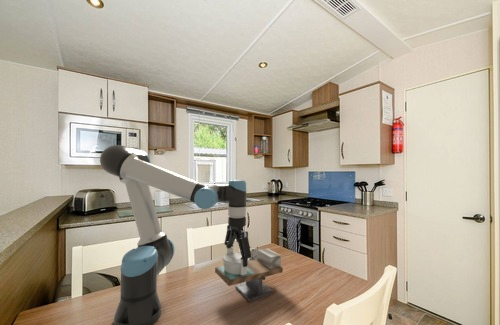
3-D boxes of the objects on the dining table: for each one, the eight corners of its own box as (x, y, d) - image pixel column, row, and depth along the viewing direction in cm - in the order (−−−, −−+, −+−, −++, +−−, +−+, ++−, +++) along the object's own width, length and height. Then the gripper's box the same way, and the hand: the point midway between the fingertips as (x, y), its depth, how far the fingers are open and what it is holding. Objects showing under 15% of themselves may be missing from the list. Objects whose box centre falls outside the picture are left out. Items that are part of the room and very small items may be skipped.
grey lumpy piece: (255, 265, 127) (264, 250, 130) (254, 266, 120) (264, 250, 122) (243, 256, 130) (252, 242, 133) (241, 256, 122) (251, 241, 125)
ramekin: (245, 278, 84) (246, 264, 84) (218, 274, 86) (219, 260, 86) (250, 266, 95) (251, 254, 95) (226, 263, 97) (227, 251, 97)
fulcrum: (249, 302, 87) (250, 283, 87) (235, 288, 97) (235, 271, 97) (272, 293, 93) (273, 276, 94) (257, 280, 103) (257, 265, 104)
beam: (229, 289, 80) (231, 268, 81) (213, 272, 93) (215, 254, 93) (283, 274, 95) (284, 257, 95) (263, 262, 108) (264, 246, 108)
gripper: (260, 220, 83) (260, 277, 83) (231, 210, 103) (231, 256, 102) (244, 223, 79) (243, 283, 79) (217, 212, 99) (216, 259, 98)
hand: (236, 268), depth 90 cm, fingers closed on ramekin, 11 cm apart
